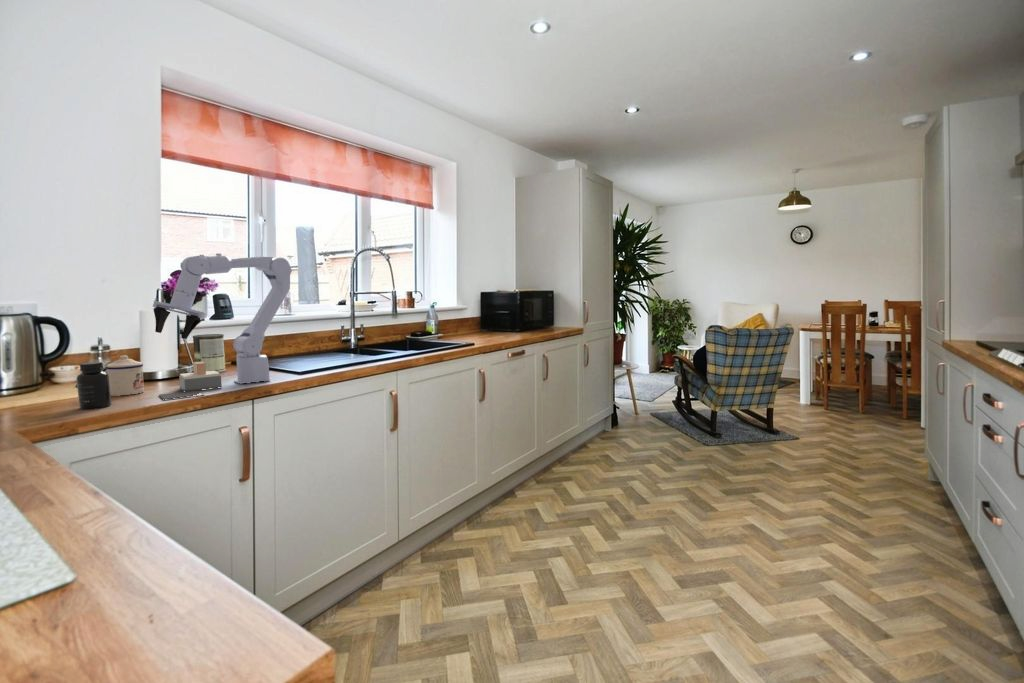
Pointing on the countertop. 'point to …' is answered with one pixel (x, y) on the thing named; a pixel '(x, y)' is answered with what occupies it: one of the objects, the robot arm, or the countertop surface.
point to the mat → (179, 394)
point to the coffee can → (210, 351)
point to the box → (200, 383)
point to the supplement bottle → (93, 386)
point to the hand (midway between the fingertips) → (170, 335)
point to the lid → (199, 372)
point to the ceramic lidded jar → (125, 376)
